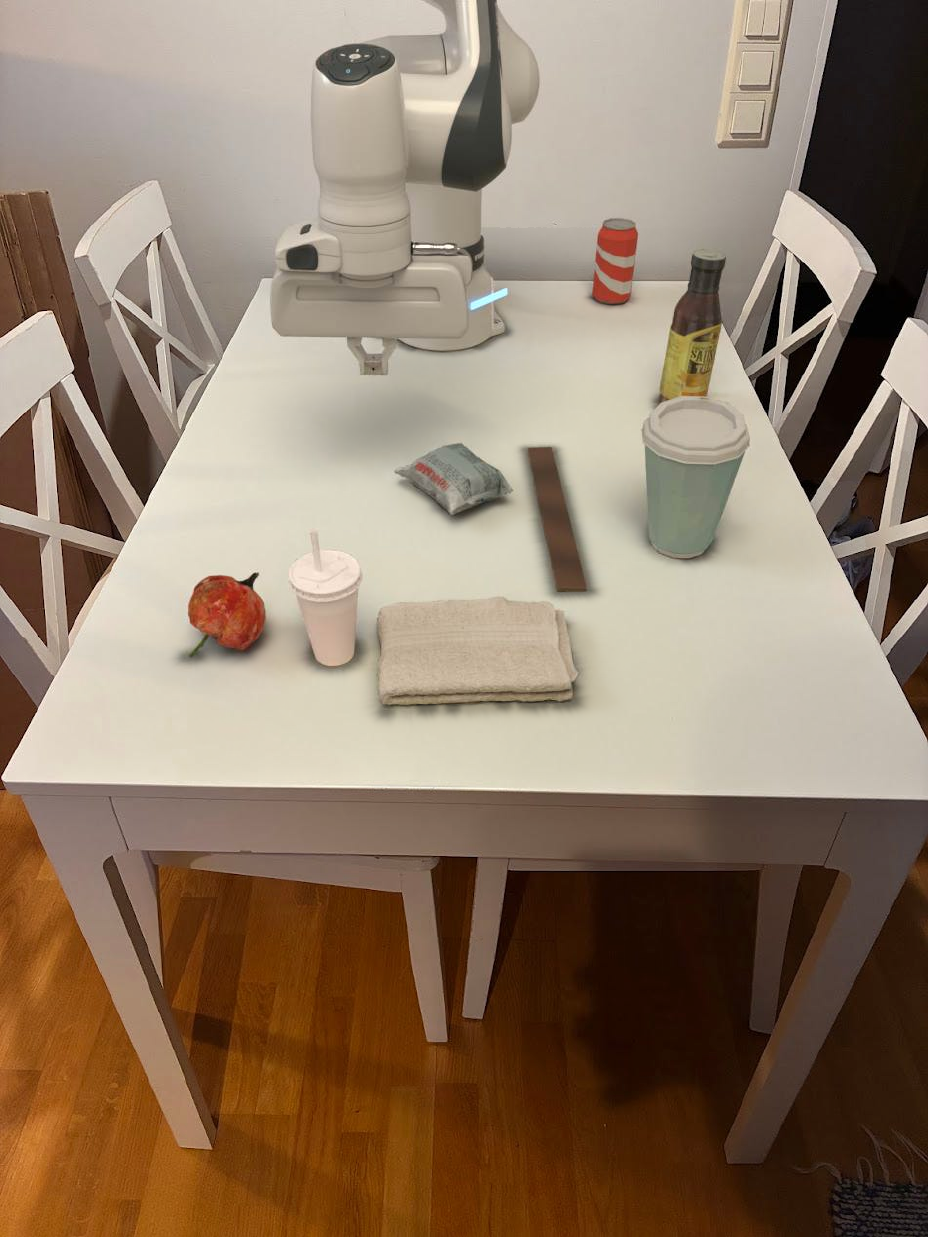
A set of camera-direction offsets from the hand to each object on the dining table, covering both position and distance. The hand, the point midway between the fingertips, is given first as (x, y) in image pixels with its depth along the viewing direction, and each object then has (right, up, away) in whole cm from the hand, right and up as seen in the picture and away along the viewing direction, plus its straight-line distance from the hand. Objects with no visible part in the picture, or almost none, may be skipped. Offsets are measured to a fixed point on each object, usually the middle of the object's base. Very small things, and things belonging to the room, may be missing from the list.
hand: (374, 372), depth 100 cm
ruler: (+20, -15, +5) cm, 25 cm away
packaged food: (+8, -13, +8) cm, 17 cm away
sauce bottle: (+39, +2, +25) cm, 46 cm away
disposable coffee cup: (+33, -18, +1) cm, 37 cm away
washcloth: (+11, -31, -14) cm, 35 cm away
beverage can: (+34, +26, +53) cm, 68 cm away
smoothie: (-2, -30, -13) cm, 33 cm away
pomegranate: (-13, -29, -12) cm, 34 cm away
